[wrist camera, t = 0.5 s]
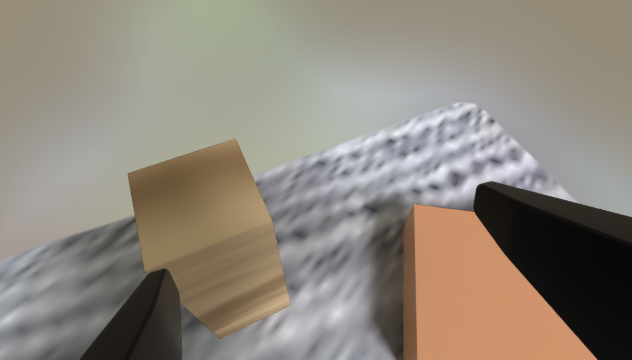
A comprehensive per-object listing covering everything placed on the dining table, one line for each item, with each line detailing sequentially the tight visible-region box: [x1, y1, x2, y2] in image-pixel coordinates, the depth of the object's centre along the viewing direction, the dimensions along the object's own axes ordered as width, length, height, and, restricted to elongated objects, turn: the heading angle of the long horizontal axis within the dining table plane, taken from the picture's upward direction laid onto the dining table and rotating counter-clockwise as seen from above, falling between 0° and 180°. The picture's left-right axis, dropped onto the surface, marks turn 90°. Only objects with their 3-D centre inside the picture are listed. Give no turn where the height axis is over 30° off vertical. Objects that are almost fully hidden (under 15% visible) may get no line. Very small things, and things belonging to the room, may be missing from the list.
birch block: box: [128, 139, 290, 339], centre depth 19 cm, size 5×5×12 cm
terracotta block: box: [403, 204, 597, 360], centre depth 22 cm, size 10×10×4 cm
